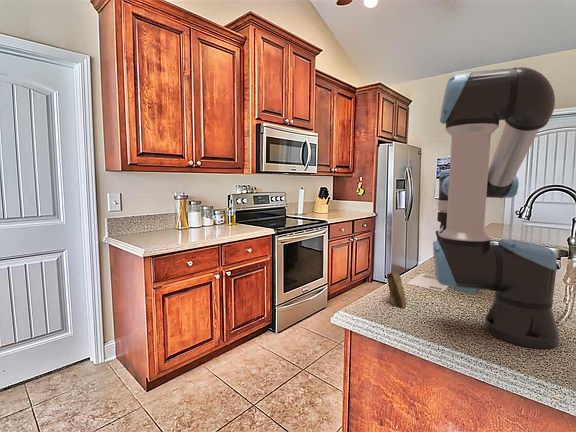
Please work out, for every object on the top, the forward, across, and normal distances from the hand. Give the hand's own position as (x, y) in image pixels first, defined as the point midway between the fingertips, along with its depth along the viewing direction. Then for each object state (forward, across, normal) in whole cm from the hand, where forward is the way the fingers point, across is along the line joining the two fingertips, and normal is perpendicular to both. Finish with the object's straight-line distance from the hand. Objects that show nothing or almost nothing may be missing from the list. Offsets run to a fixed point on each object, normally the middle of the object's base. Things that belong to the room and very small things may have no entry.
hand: (445, 272), depth 125 cm
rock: (+4, +33, +2) cm, 33 cm away
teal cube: (+3, +4, +10) cm, 11 cm away
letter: (+3, +6, -2) cm, 7 cm away
